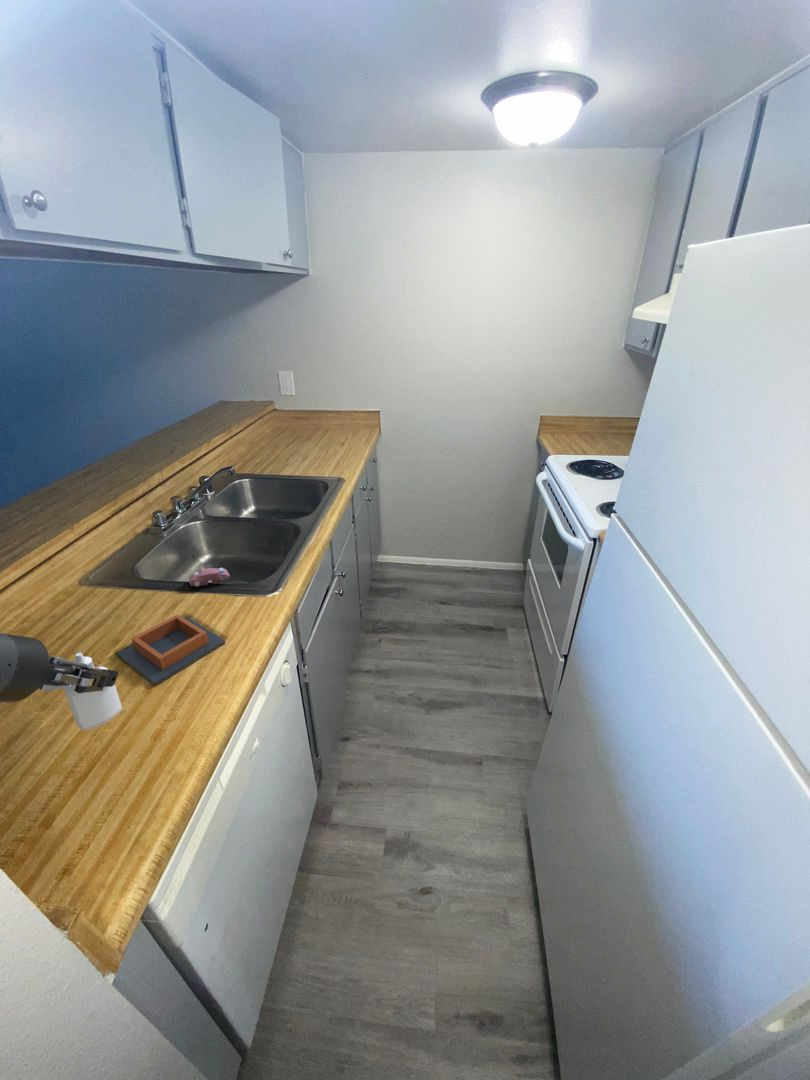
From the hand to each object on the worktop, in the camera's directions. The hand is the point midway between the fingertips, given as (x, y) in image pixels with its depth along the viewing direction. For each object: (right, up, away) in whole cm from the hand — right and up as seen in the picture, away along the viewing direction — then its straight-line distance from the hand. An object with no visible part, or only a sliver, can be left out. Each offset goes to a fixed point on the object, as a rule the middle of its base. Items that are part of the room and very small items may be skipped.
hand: (100, 674), depth 68 cm
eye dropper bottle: (-1, -7, +1) cm, 7 cm away
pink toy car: (-7, +7, +55) cm, 56 cm away
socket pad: (-6, -4, +33) cm, 34 cm away
